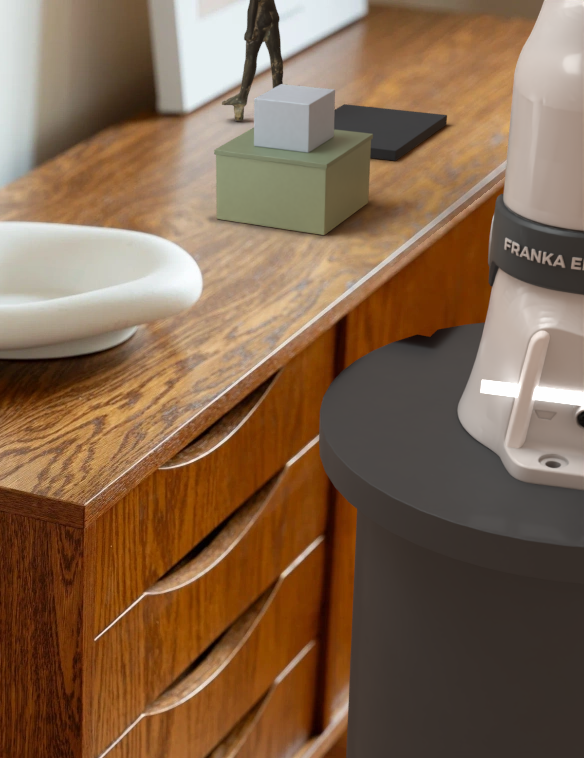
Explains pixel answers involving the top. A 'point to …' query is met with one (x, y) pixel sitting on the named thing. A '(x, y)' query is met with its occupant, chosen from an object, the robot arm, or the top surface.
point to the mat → (389, 128)
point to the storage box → (293, 182)
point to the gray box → (294, 118)
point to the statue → (258, 31)
